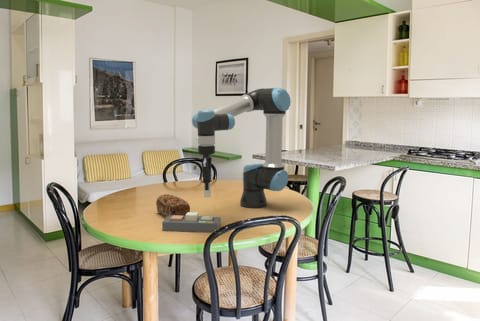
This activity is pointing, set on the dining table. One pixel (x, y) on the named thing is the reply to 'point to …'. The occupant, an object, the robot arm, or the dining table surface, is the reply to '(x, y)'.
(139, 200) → the dining table surface
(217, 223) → the keypad board
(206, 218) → the key sage
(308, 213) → the dining table surface
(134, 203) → the dining table surface
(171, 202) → the bread
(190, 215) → the key cream
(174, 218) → the key terracotta
